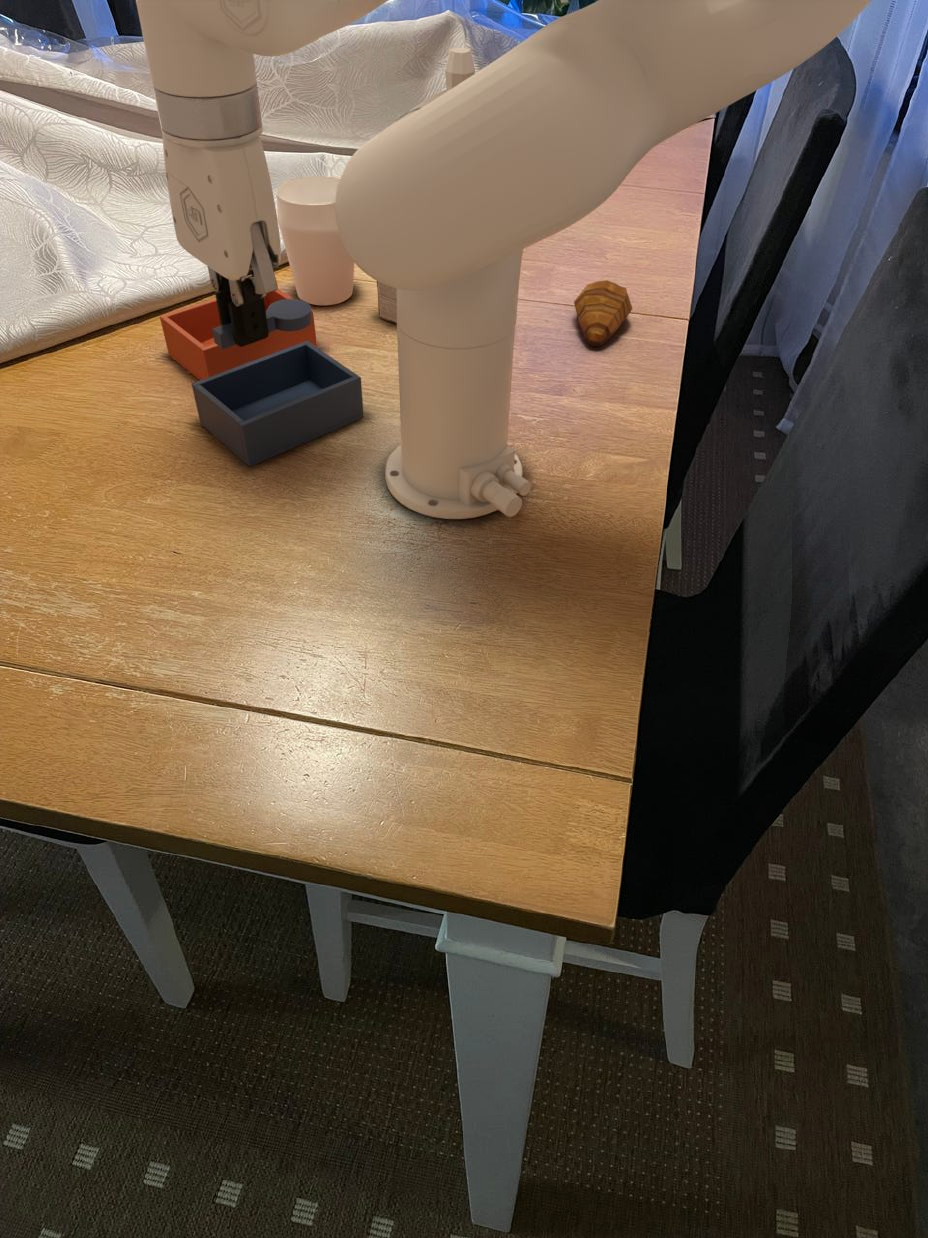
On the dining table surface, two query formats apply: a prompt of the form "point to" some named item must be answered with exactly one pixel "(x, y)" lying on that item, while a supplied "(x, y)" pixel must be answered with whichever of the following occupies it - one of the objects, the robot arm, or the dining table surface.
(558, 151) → the robot arm
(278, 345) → the terracotta bin
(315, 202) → the cup
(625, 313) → the croissant
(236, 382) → the blue bin
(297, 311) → the blue spoon
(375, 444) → the dining table surface
